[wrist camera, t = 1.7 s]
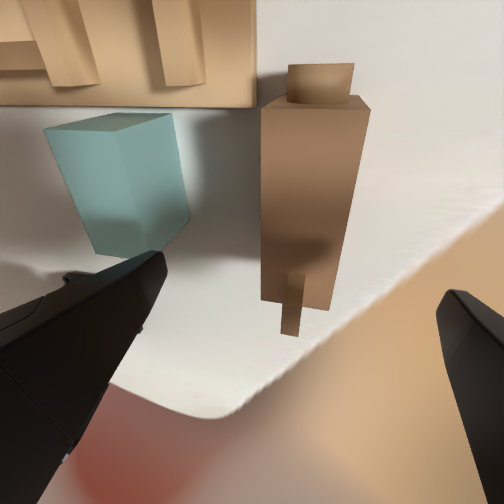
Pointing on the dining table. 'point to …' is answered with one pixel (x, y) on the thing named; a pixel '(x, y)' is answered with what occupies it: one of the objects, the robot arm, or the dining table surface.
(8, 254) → the dining table surface
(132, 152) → the teal block
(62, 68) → the jig
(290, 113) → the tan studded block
